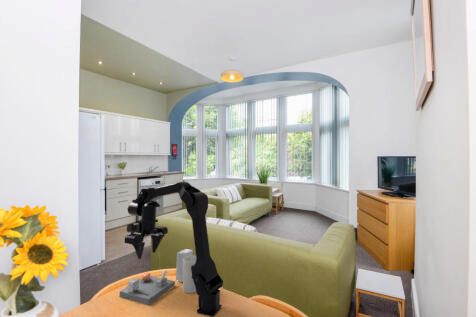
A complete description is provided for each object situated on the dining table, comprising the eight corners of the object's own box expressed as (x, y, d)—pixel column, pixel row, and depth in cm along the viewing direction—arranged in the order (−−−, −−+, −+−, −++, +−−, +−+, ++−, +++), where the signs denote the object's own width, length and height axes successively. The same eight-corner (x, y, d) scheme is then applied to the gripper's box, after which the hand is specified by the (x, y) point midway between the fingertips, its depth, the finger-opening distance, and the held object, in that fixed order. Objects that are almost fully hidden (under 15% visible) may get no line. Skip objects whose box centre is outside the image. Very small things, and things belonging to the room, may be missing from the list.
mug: (196, 294, 84) (197, 262, 85) (179, 293, 85) (180, 261, 86) (203, 281, 94) (203, 253, 95) (187, 281, 95) (188, 252, 96)
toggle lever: (164, 283, 88) (168, 270, 88) (161, 286, 86) (165, 272, 86) (160, 281, 89) (165, 268, 89) (157, 283, 87) (161, 270, 87)
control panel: (174, 286, 90) (175, 276, 91) (148, 305, 77) (149, 293, 77) (148, 279, 95) (148, 270, 96) (119, 296, 82) (120, 285, 82)
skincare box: (185, 275, 100) (186, 248, 101) (192, 277, 98) (193, 249, 99) (175, 280, 95) (176, 252, 96) (182, 283, 93) (183, 254, 94)
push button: (152, 277, 91) (152, 273, 91) (146, 280, 88) (146, 276, 88) (146, 276, 92) (146, 272, 93) (140, 279, 89) (140, 275, 90)
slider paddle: (138, 288, 83) (139, 279, 84) (132, 292, 81) (132, 282, 81) (133, 287, 84) (134, 278, 84) (127, 291, 81) (127, 281, 82)
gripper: (150, 212, 104) (148, 246, 102) (115, 219, 86) (112, 260, 85) (169, 214, 100) (167, 249, 98) (136, 222, 82) (134, 265, 81)
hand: (146, 255), depth 91 cm, fingers open, 8 cm apart
